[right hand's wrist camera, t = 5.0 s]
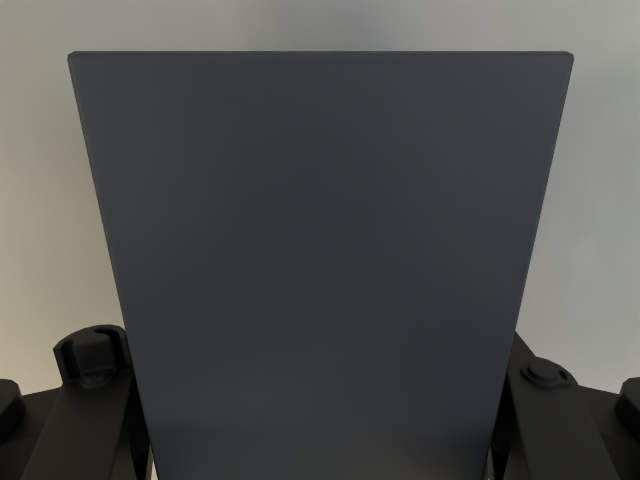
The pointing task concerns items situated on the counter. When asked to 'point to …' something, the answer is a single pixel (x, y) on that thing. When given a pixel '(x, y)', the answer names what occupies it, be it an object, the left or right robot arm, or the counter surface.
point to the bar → (320, 249)
